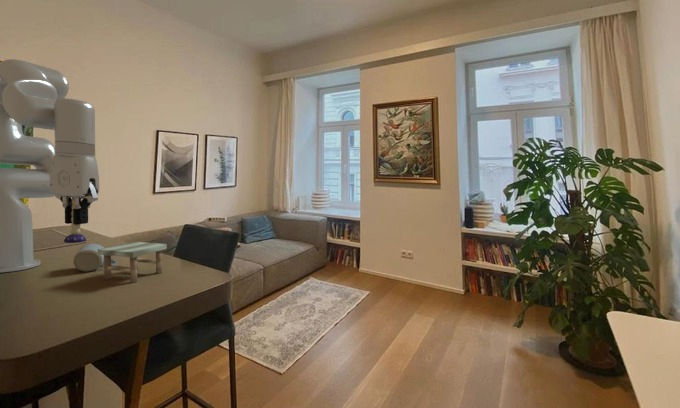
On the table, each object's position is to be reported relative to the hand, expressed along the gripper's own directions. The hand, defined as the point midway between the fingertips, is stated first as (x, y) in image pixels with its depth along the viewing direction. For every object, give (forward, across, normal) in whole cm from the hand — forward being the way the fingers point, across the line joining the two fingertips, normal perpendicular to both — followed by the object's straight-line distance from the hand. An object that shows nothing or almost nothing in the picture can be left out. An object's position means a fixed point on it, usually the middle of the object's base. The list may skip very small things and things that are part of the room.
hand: (76, 222), depth 75 cm
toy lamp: (+5, 0, 0) cm, 5 cm away
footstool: (+18, +3, +14) cm, 23 cm away
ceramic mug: (+19, -15, +17) cm, 29 cm away
